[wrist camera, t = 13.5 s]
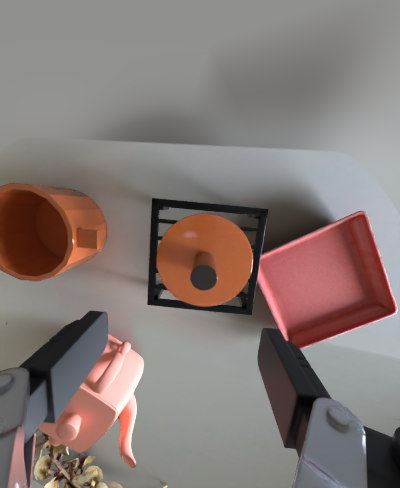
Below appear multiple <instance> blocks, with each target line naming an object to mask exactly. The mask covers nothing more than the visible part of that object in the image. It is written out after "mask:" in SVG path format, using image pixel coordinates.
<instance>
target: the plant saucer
mask: <svg viewBox="0 0 400 488" xmlns="http://www.w3.org/2000/svg"><path fill="white" fill-rule="evenodd" d="M257 282H258V284H259V287H260V289H261V291H262V293H263V296H264V298H265V300H266V302H267V304H268V306H269V309H270V311H271V313H272V315H273V318H274V320H275V322H276V324H277V326H278V328H279V330H280V331H281V333H282V334H283V336H284V338H285V339H286V341H291V342H292V343H293V344H295V345H296V346H297V347H298V348H299V349H302V348H305V347H308V346H310V345H313V344H316V343H319V342H321V341H324V340H327V339H330V338H332V337H335V336H338V335H341V334H343V333H346V332H348V331H352V330H354V329H357V328H360V327H362V326H365V325H368V324H370V323H373V322H376V321H379V320H381V319H384V318H387V317H390V316H392V315H394V314H396V312H397V310H398V309H397V306H396V303H395V299H394V296H393V293H392V290H391V287H390V284H389V281H388V277H387V274H386V271H385V268H384V265H383V262H382V259H381V256H380V252H379V250H378V247H377V244H376V241H375V238H374V234H373V232H372V228H371V225H370V222H369V219H368V216H367V214H366V212H364V211H358V212H356V213H354V214H351V215H349V216H347V217H345V218H342V219H340V220H338V221H336V222H333V223H331V224H329V225H327V226H324V227H322V228H320V229H318V230H315V231H313V232H311V233H309V234H306V235H304V236H302V237H299V238H297V239H295V240H293V241H290V242H288V243H286V244H284V245H281V246H279V247H277V248H274V249H272V250H270V251H268V252H265V253H263V254H261V259H260V266H259V272H258V278H257Z"/></svg>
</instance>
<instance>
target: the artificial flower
mask: <svg viewBox="0 0 400 488" xmlns="http://www.w3.org/2000/svg"><path fill="white" fill-rule="evenodd" d="M49 437H50V436H48V435H46V434H45V433H44V432H43V433H42V434H41V435H40V436H39V437H38V438H37V439H36V442H35V448H36V449H35V455H34V461H38V462H37V463H36V466H35V470H34V474H35V477H36V479H37V480H43V479H47V478H48V477H49V476H51V475H52V474H54V478H53V479H52V480H51V481H50V482H49V483H47V484H46V486H45V487H44V488H59V483H60V481H61V480H62V479H64V478H65V479H67V481H66V483H65V486H64V488H73V487H74V488H84V487H83V486H90V488H123V487H122V486H121V485H120V484H118V483H116V482H114V481H112V482H110V483H108V484H107V485H106V484H105V483H103V482H102V477H103V476H102V470H101V469H100V468H99V467H96V466H91V467H88V468H87V469H86V470H85V472H84V473H83V474H82V472H83V469H84V466H85V465H87V464H90V463H91V462H92V461H93V460H94V458H95V457H94V456H85V455H84V453H80V455H79V460H78V458H77V459H72V460H66V461H63V462H62V457H63V455H69V452H68V447H66V446H65V445H63V444H60V445H59V446H53V445H51V444H50V443H49ZM37 447H38V448H37ZM45 448H48V451H50V453H51V454H50V453H49V456H48V455H44V456H42V457H41V453H42V450H43V449H45ZM57 454H58V457H56V456H57ZM40 457H41V458H40ZM57 460H58V461H57ZM79 461H80V465H79V466H78V465H77V464H78V462H79ZM52 462H54V464H55V465H56V467H57V468H58V470H57V471H56V470H54V469H53V470H51V469H50V467H51V464H52ZM66 463H67V464H68V467H65V468H64V464H66ZM68 468H69V470H68ZM78 469H81V474H76V472H77V470H78ZM67 470H68V472H67ZM48 473H49V474H48ZM58 474H59V475H58ZM47 475H48V476H47ZM65 476H66V477H65ZM94 486H95V487H94ZM162 488H167V485H165V486H164V487H162Z"/></svg>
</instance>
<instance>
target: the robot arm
mask: <svg viewBox="0 0 400 488" xmlns="http://www.w3.org/2000/svg"><path fill="white" fill-rule="evenodd" d="M107 341H108V317H107V313H106V312H100V311H89V312H88V313H87V314H86V315H85V316H84V317H83V318H82V319H80V320H76V321H74V322H72V323H70V324H68V325H66V326H65V327H64V328H63V329H61V330H60V331H59V332H58V333H57V335H55V336H53V337H52V338H51V339H50V340H49V342H47V343H46V344H44V345H43V346H42V347H41V348H40V349H39V350H38V351H36V352H35V353H34V354H33V355H32V356H31V357H30V358H28V359H27V360H26V361H25V362H24V363H23V364H22V365H20V366H19V367H18V368H10V369H6V370H3V371H0V488H32V481H33V468H34V455H35V442H36V430H37V429H38V428H39V426H40V425H41V424H42V422H46V423H56V421H57V420H58V418H59V417H60V415H61V414H62V412H63V411H64V409H65V408H66V407H67V405H68V404H69V402H70V401H71V399H72V398H73V396H74V395H75V393H76V392H77V390H78V389H79V387H80V386H81V385H82V383H83V382H84V380H85V379H86V377H87V376H88V374H89V373H90V371H91V370H92V368H93V367H94V365H95V364H96V363H97V361H98V360H99V358H100V357H101V355H102V354H103V352H104V350H105V348H106V345H107ZM258 366H259V370H260V373H261V376H262V379H263V382H264V385H265V388H266V391H267V394H268V397H269V400H270V404H271V407H272V410H273V413H274V416H275V419H276V422H277V425H278V428H279V431H280V434H281V437H282V441H283V444H284V447H285V448H293V449H296V450H297V453H298V456H299V461H298V465H297V469H296V473H295V478H294V482H293V486H292V488H400V427H399V428H397V429H396V431H395V433H394V436H393V437H390V436H388V435H385V434H383V433H380V432H378V431H375V430H372V429H370V428H367V427H365V426H363V425H362V424H361V422H360V421H359V419H358V418H357V417H356V416H355V415H354V414H353V413H352V412H351V411H350V410H349V409H348V408H347V407H345V406H344V405H342V404H341V403H339V402H337V401H335V400H333V399H332V398H331V397H330V395H329V394H328V392H327V391H326V389H325V387H324V386H323V384H322V383H321V381H320V380H319V378H318V377H317V375H316V374H315V372H314V370H313V369H312V368H311V366H310V364H309V363H308V361H307V360H306V358H305V356H304V355H303V353H302V352H301V350H300V349H299V348H298V347H297V346H296V345H295V344H293V343H292V342H291V341H286V339H285V338H284V336H283V334H282V333H281V331H280V330H279V329H273V328H263V329H262V333H261V339H260V345H259V350H258ZM73 488H74V487H73Z"/></svg>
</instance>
